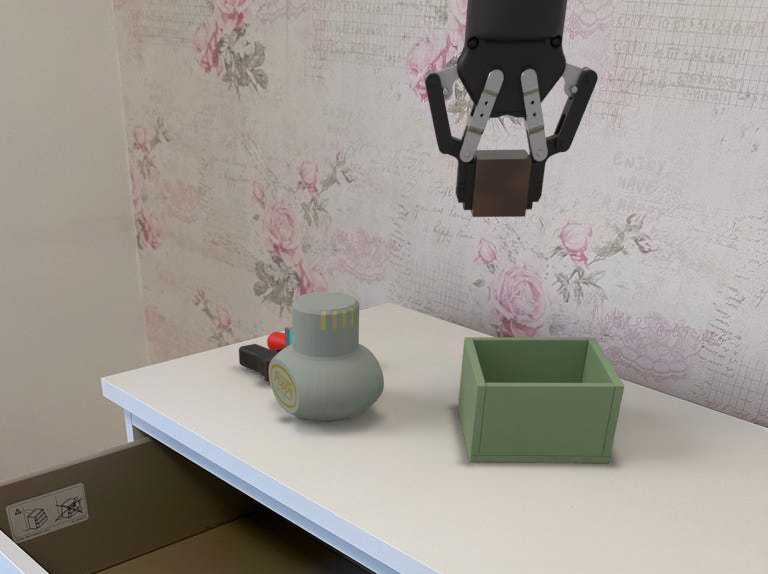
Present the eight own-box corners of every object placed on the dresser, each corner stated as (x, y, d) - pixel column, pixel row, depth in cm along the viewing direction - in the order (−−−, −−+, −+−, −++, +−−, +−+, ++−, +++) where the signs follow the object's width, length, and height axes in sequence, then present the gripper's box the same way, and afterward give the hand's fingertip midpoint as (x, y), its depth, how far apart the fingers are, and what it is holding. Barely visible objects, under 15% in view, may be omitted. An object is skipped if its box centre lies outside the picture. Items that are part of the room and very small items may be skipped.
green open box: (582, 408, 87) (595, 337, 83) (609, 463, 78) (624, 386, 74) (457, 407, 87) (464, 337, 84) (469, 462, 78) (477, 385, 74)
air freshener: (392, 424, 85) (397, 311, 79) (307, 440, 82) (307, 325, 76) (340, 382, 93) (341, 278, 87) (262, 396, 90) (258, 290, 85)
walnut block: (519, 205, 83) (525, 149, 80) (525, 216, 79) (532, 158, 77) (468, 205, 83) (473, 150, 81) (472, 217, 80) (477, 159, 77)
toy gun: (373, 368, 96) (374, 320, 93) (265, 390, 92) (264, 340, 89) (329, 340, 103) (329, 294, 100) (227, 359, 99) (224, 312, 96)
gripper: (608, -40, 73) (573, 198, 84) (423, -35, 75) (411, 199, 85) (628, -39, 67) (588, 218, 78) (427, -33, 69) (414, 219, 79)
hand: (496, 206), depth 81 cm, fingers closed on walnut block, 4 cm apart
